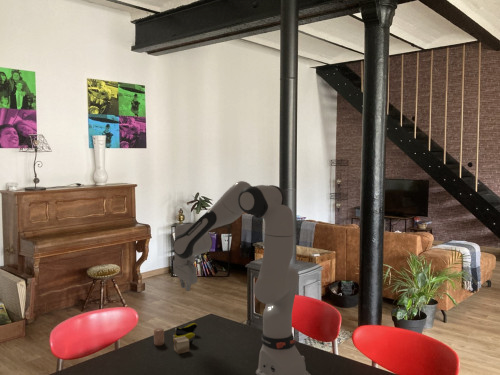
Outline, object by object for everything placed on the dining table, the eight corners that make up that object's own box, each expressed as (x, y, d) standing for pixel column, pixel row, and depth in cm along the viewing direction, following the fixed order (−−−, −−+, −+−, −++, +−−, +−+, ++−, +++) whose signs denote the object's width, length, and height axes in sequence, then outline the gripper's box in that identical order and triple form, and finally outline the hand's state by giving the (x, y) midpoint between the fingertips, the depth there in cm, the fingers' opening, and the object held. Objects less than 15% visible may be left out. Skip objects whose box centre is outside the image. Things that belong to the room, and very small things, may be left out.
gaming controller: (197, 333, 215) (176, 333, 215) (197, 321, 215) (176, 322, 215) (194, 346, 200) (171, 347, 200) (194, 334, 200) (171, 334, 200)
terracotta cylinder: (165, 344, 203) (165, 330, 202) (155, 346, 201) (155, 332, 200) (162, 340, 207) (162, 327, 206) (152, 342, 204) (152, 329, 204)
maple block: (189, 351, 195) (189, 340, 195) (178, 354, 193) (177, 342, 192) (185, 347, 199) (184, 336, 199) (174, 349, 197) (173, 338, 197)
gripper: (200, 262, 198) (201, 294, 199) (183, 253, 215) (184, 282, 216) (186, 264, 195) (187, 296, 195) (170, 255, 212) (171, 284, 213)
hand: (185, 289), depth 206 cm, fingers open, 4 cm apart
